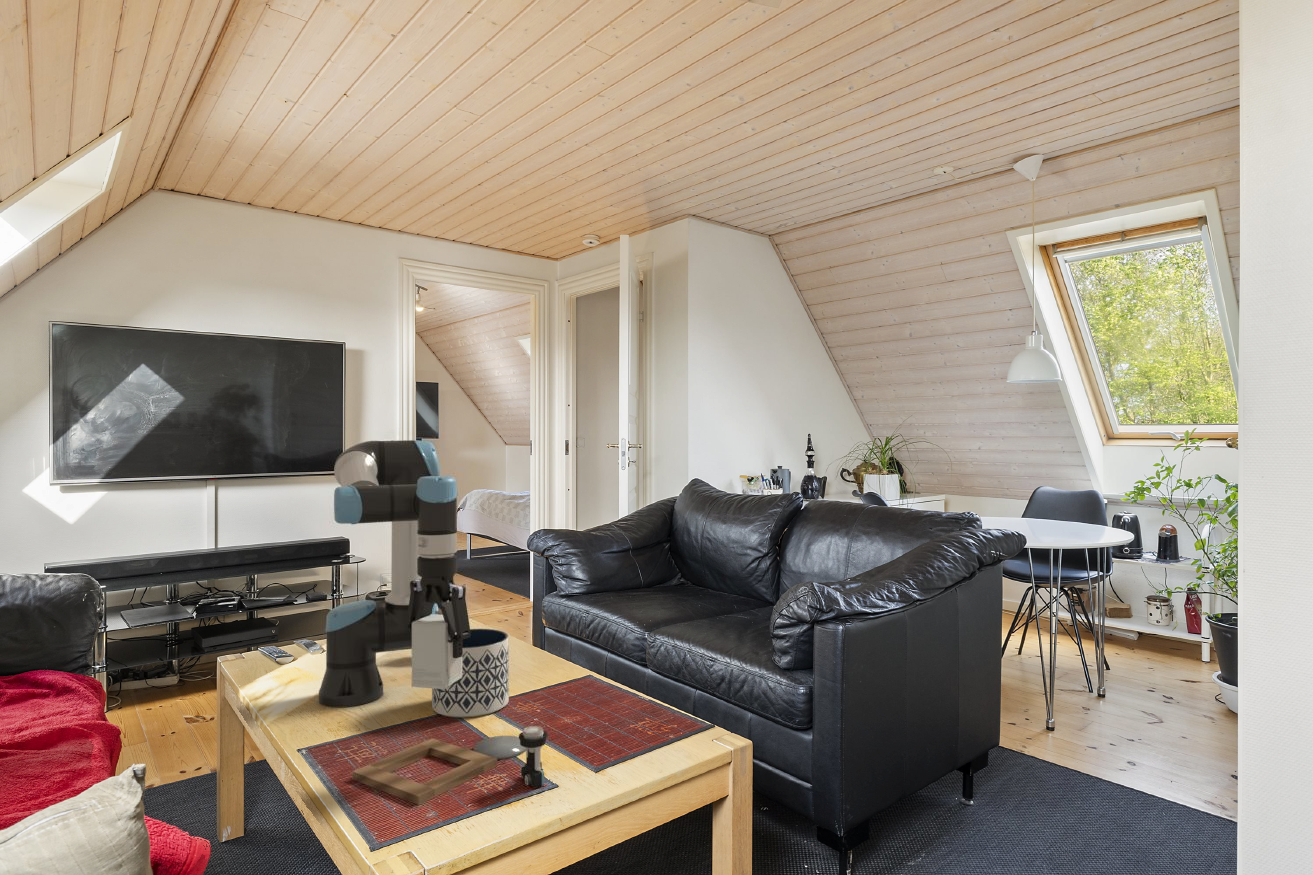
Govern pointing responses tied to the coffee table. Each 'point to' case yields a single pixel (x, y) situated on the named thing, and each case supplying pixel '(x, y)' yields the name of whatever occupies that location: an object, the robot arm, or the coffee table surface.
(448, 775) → the board
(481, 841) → the coffee table surface
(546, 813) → the coffee table surface
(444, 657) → the supplement box
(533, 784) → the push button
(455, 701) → the planter
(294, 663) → the coffee table surface
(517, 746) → the coaster
